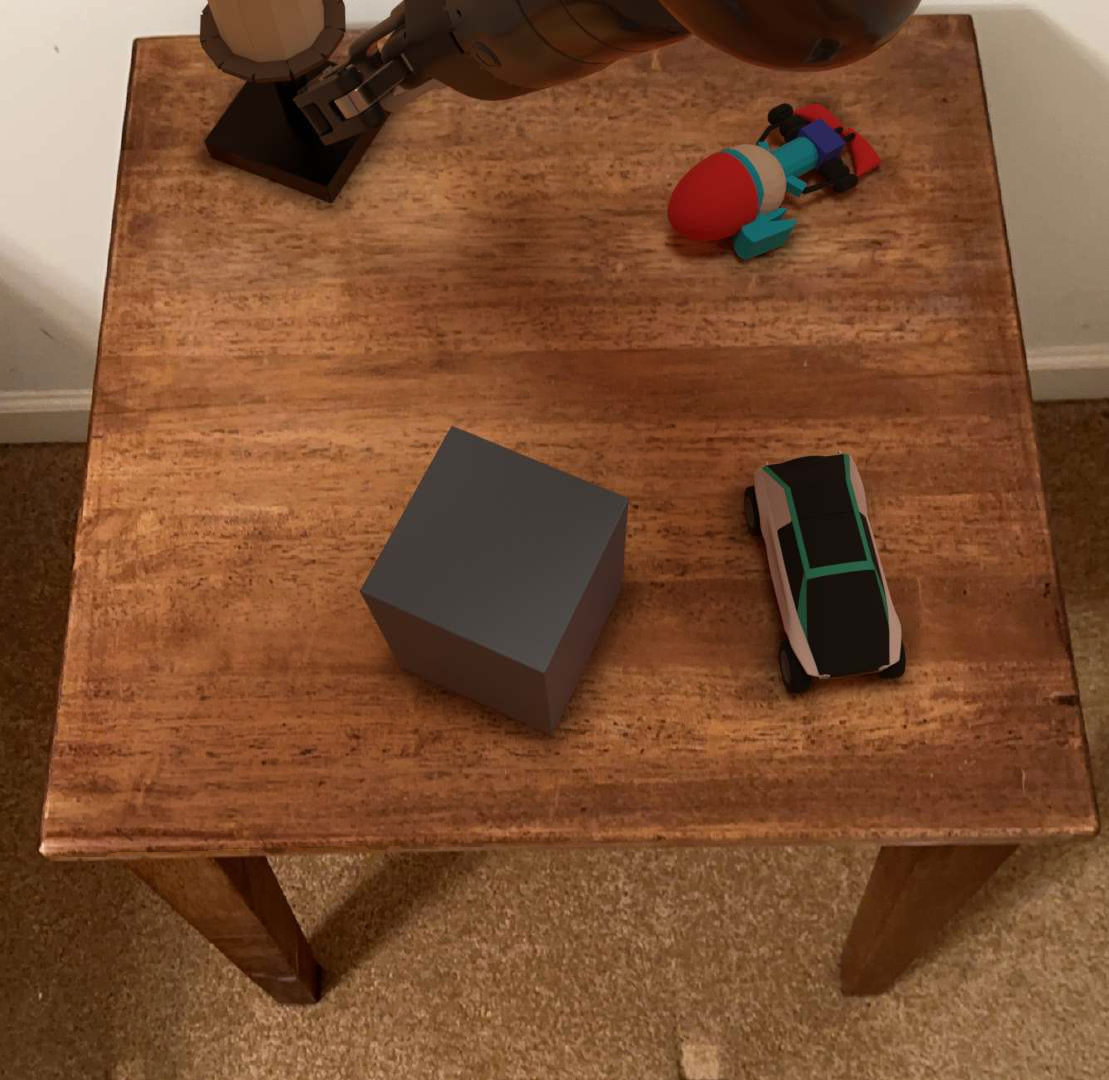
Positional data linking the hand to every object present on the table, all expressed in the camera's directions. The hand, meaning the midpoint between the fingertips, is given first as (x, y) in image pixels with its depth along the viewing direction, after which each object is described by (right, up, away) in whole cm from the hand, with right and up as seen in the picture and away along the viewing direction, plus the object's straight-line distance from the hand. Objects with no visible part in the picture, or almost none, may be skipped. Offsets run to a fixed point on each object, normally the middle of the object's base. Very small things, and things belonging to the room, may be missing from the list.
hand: (385, 53), depth 60 cm
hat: (-8, +5, +8) cm, 12 cm away
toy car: (+23, -27, +4) cm, 36 cm away
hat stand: (-7, +2, +16) cm, 18 cm away
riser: (+6, -30, +3) cm, 30 cm away
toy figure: (+22, -3, +14) cm, 26 cm away
